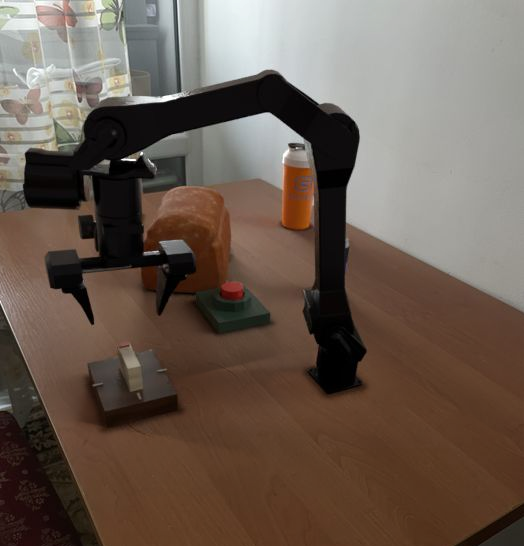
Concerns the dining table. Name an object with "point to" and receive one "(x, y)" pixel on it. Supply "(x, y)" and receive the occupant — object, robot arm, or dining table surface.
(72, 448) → the dining table surface
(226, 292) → the button
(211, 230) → the bread
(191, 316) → the dining table surface
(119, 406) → the switch base
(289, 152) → the shaker bottle
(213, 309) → the block
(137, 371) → the cream block
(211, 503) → the dining table surface
